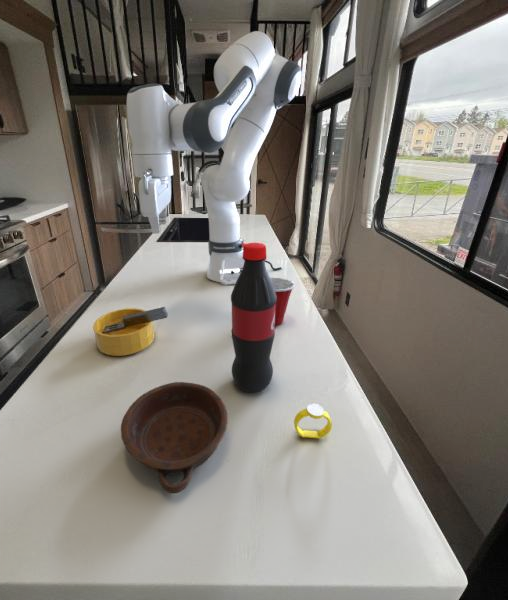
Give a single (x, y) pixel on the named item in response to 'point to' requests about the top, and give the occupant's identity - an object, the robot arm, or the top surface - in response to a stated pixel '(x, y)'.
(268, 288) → the cola bottle
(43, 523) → the top surface
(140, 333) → the bowl
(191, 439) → the dish
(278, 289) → the plastic cup
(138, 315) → the grey spatula
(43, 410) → the top surface
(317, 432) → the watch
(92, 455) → the top surface
